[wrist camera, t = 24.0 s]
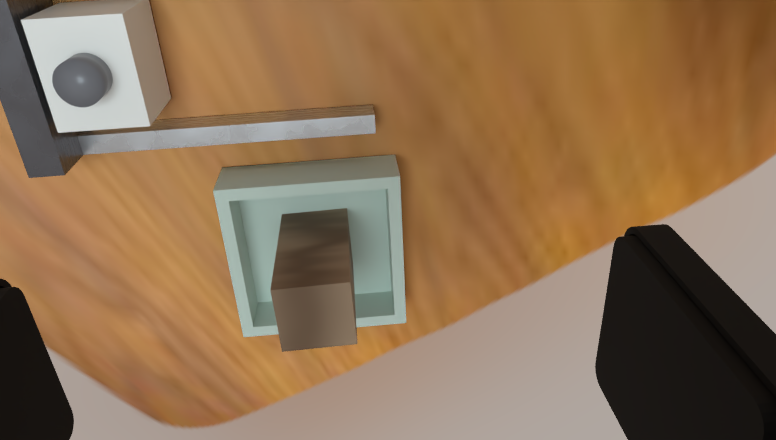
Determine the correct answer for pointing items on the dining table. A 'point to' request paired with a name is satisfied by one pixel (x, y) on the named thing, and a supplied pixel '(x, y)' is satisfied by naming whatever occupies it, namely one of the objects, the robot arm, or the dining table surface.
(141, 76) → the block
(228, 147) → the dining table surface
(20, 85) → the piston rail
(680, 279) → the robot arm
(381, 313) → the tray
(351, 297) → the stop block
